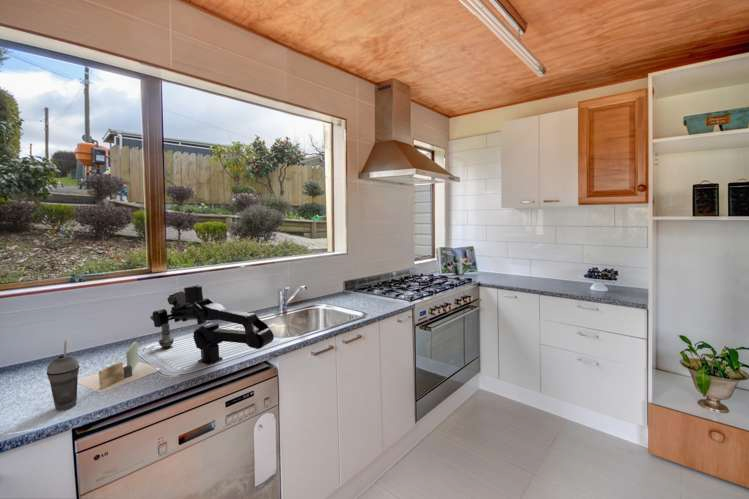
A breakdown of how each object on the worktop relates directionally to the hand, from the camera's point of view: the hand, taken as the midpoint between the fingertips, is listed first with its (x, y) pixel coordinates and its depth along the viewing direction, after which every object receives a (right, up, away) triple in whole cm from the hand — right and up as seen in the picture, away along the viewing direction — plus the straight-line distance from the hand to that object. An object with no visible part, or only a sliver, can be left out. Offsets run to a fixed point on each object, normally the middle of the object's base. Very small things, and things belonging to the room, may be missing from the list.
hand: (161, 314), depth 146 cm
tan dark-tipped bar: (0, -18, -25) cm, 31 cm away
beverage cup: (-3, -20, -41) cm, 46 cm away
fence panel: (-2, -17, -14) cm, 22 cm away
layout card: (-3, -18, -20) cm, 27 cm away
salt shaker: (-2, -16, +6) cm, 17 cm away
